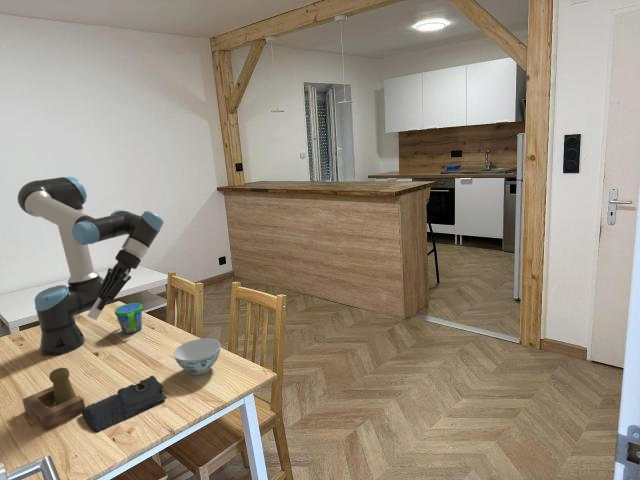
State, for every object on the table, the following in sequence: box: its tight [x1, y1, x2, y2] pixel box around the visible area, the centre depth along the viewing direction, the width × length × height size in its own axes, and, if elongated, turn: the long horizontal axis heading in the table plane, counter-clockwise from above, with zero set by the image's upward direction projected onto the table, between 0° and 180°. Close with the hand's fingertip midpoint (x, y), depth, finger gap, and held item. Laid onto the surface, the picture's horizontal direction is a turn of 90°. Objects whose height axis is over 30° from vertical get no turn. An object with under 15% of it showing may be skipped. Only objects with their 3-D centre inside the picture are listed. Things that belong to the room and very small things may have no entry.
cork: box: [49, 367, 77, 407], centre depth 133 cm, size 6×6×11 cm
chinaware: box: [173, 337, 221, 376], centre depth 147 cm, size 15×15×8 cm
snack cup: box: [114, 302, 143, 334], centre depth 183 cm, size 16×10×10 cm
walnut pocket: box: [21, 385, 86, 432], centre depth 130 cm, size 11×16×4 cm
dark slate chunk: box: [81, 375, 168, 433], centre depth 130 cm, size 15×22×5 cm
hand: (91, 318), depth 141 cm, fingers closed
